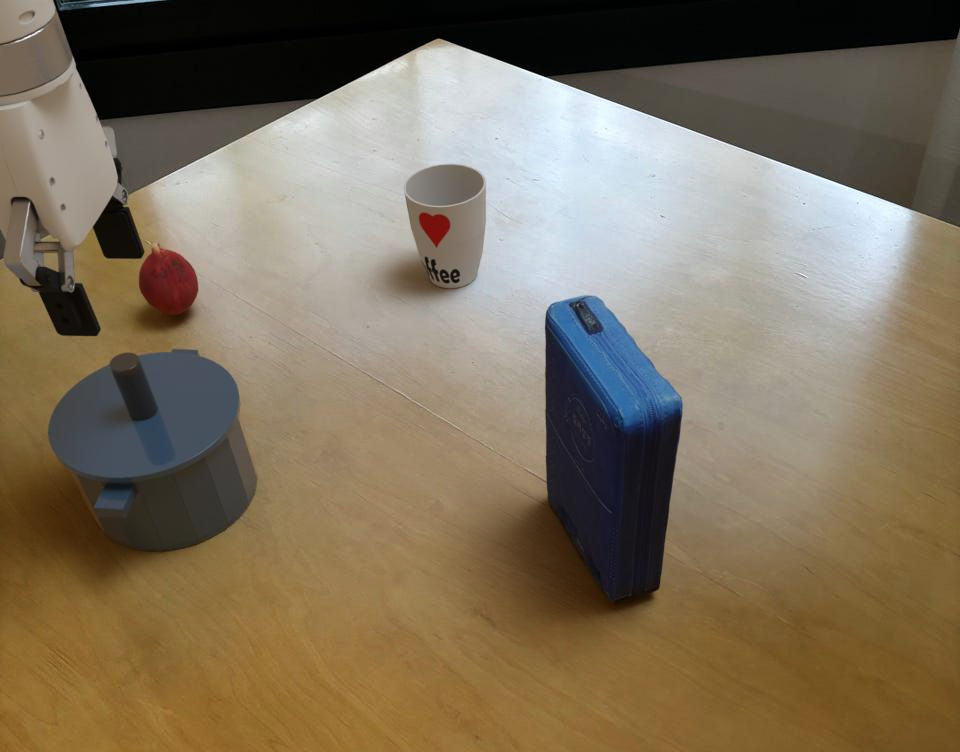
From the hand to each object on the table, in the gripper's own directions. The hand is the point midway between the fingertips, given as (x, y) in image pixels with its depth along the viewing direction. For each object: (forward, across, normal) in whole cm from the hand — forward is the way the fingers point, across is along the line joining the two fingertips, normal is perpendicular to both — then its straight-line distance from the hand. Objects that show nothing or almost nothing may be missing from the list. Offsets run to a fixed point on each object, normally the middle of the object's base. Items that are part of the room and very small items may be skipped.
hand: (103, 293), depth 80 cm
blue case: (+21, +4, +38) cm, 43 cm away
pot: (+20, 0, 0) cm, 20 cm away
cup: (+20, -34, +20) cm, 44 cm away
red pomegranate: (+20, -26, -8) cm, 34 cm away
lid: (+12, 0, 0) cm, 12 cm away
